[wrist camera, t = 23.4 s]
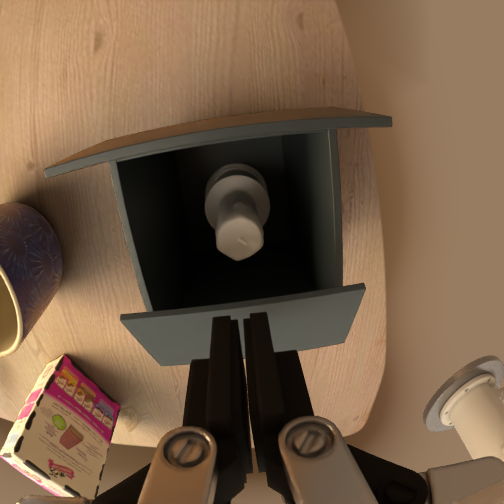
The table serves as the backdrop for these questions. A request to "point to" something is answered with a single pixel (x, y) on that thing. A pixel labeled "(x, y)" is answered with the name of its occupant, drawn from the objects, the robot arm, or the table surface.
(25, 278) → the planter
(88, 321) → the table surface
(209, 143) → the chute
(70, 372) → the candy bar box
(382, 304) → the table surface
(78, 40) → the table surface
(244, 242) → the candle
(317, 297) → the panel
